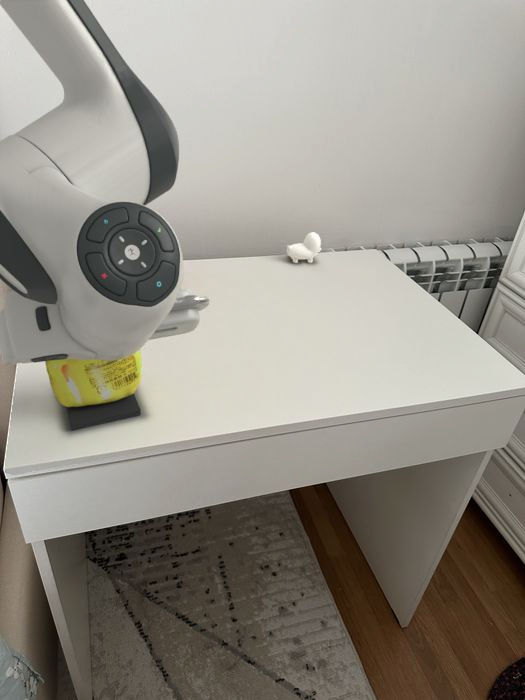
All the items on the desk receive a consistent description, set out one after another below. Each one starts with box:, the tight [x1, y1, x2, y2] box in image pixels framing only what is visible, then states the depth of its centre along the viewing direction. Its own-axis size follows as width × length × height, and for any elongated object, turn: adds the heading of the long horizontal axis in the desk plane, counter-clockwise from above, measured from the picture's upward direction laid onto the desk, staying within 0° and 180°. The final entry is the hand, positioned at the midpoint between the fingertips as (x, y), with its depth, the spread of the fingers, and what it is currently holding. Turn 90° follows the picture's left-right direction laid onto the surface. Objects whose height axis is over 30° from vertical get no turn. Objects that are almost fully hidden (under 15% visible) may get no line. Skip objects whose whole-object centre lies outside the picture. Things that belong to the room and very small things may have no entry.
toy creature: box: [286, 231, 323, 264], centre depth 114 cm, size 5×8×6 cm, turn 102°
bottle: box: [44, 349, 142, 408], centre depth 67 cm, size 12×6×20 cm, turn 115°
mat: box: [65, 393, 142, 432], centre depth 73 cm, size 9×9×1 cm
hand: (98, 341), depth 62 cm, fingers open, 8 cm apart
